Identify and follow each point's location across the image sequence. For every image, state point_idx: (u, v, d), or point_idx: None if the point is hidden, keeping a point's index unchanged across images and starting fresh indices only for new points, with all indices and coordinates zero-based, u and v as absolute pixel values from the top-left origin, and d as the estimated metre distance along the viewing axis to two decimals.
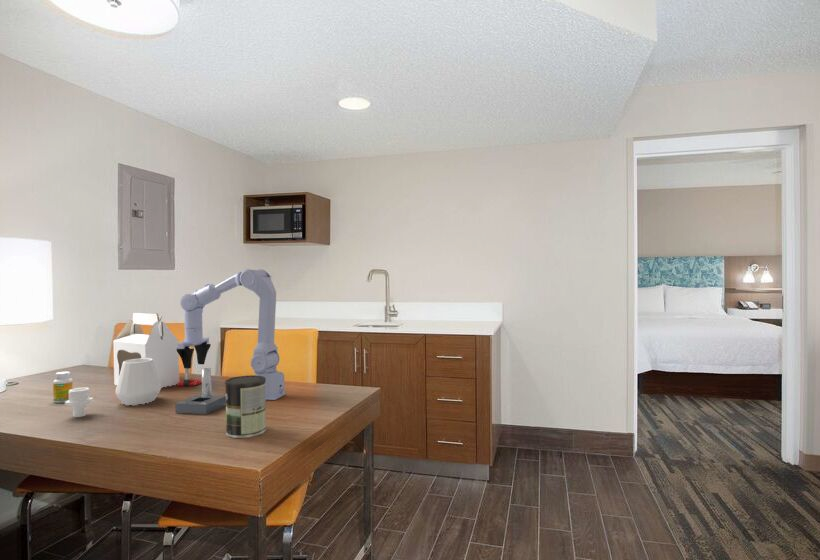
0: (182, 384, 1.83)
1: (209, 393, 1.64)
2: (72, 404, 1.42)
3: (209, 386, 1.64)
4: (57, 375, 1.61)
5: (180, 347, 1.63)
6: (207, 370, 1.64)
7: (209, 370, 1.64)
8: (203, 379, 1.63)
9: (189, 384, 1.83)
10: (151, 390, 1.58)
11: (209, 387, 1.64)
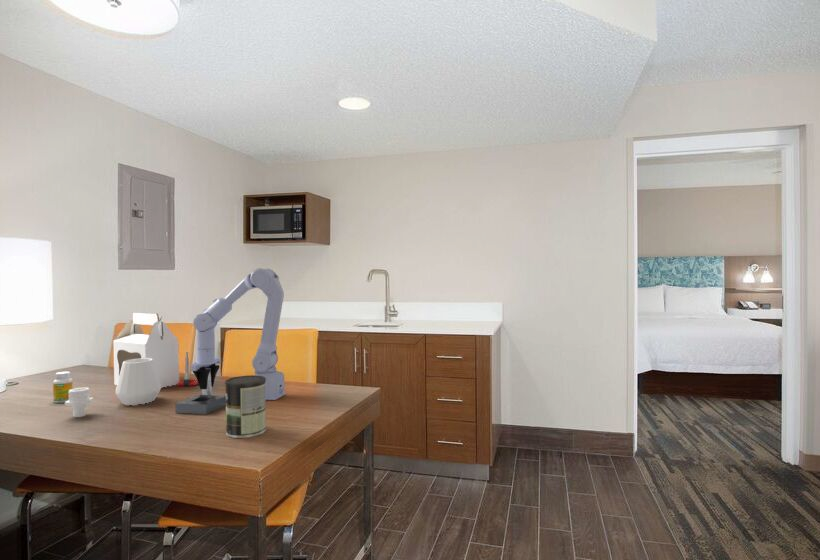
0: (182, 384, 1.83)
1: (209, 393, 1.64)
2: (72, 404, 1.42)
3: (209, 386, 1.64)
4: (57, 375, 1.61)
5: (192, 369, 1.58)
6: None
7: None
8: None
9: (189, 384, 1.83)
10: (151, 390, 1.58)
11: (209, 387, 1.64)
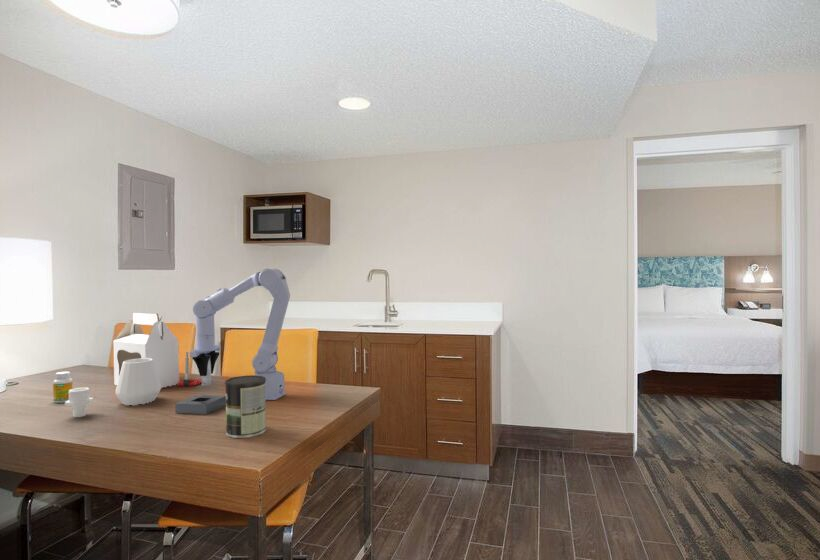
0: (182, 384, 1.83)
1: (209, 380, 1.64)
2: (72, 404, 1.42)
3: (209, 373, 1.64)
4: (57, 375, 1.61)
5: (192, 355, 1.58)
6: None
7: None
8: None
9: (189, 384, 1.83)
10: (151, 390, 1.58)
11: (209, 374, 1.64)
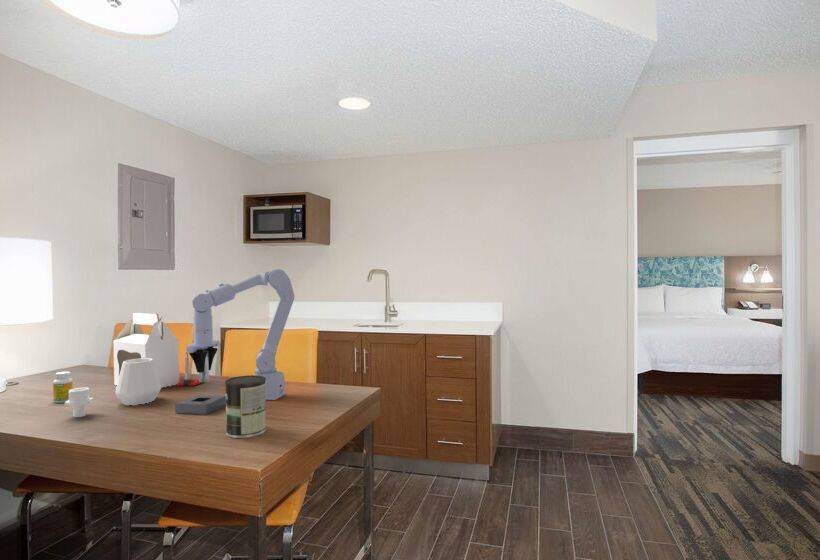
0: (182, 384, 1.83)
1: (206, 376, 1.58)
2: (72, 404, 1.42)
3: (206, 369, 1.58)
4: (57, 375, 1.61)
5: (189, 351, 1.51)
6: None
7: None
8: None
9: (189, 384, 1.83)
10: (151, 390, 1.58)
11: (206, 370, 1.58)
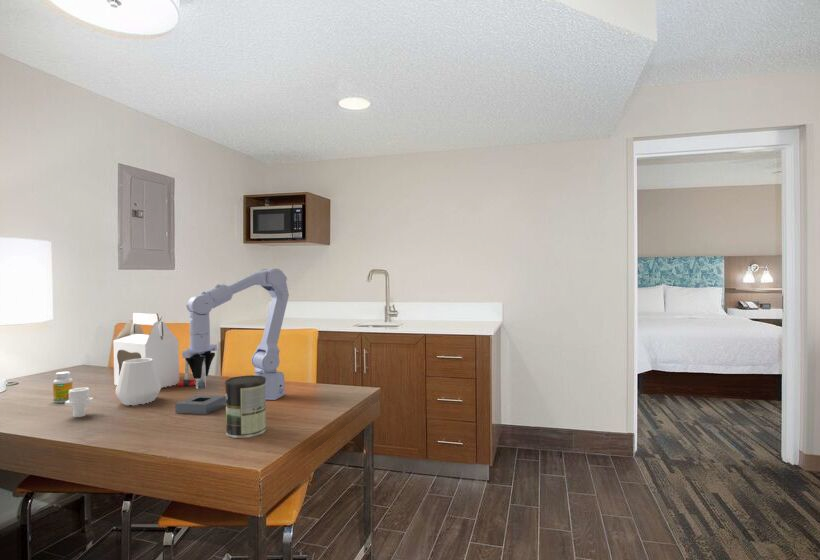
0: (182, 384, 1.83)
1: (203, 383, 1.50)
2: (72, 404, 1.42)
3: (203, 375, 1.50)
4: (57, 375, 1.61)
5: (185, 356, 1.43)
6: None
7: None
8: None
9: (189, 384, 1.83)
10: (151, 390, 1.58)
11: (203, 376, 1.50)
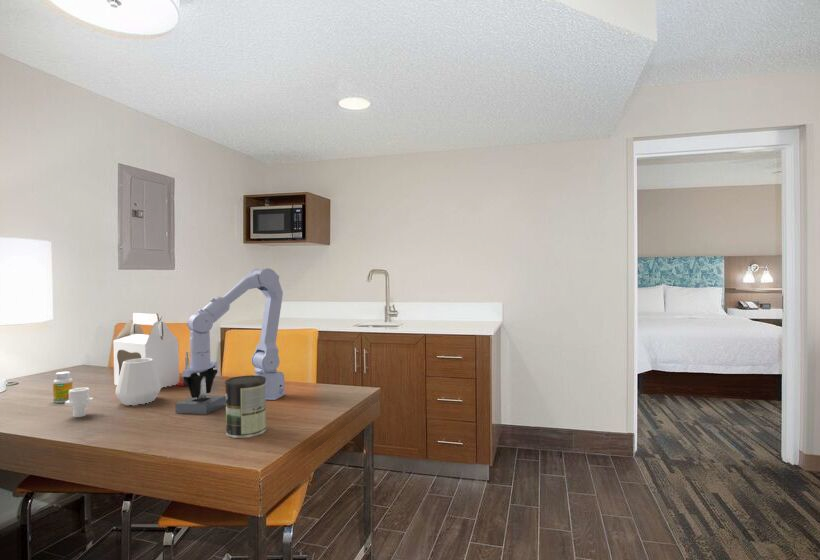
0: (182, 384, 1.83)
1: None
2: (72, 404, 1.42)
3: (204, 396, 1.50)
4: (57, 375, 1.61)
5: (185, 375, 1.44)
6: (202, 379, 1.50)
7: (204, 379, 1.50)
8: None
9: None
10: (151, 390, 1.58)
11: (204, 397, 1.50)
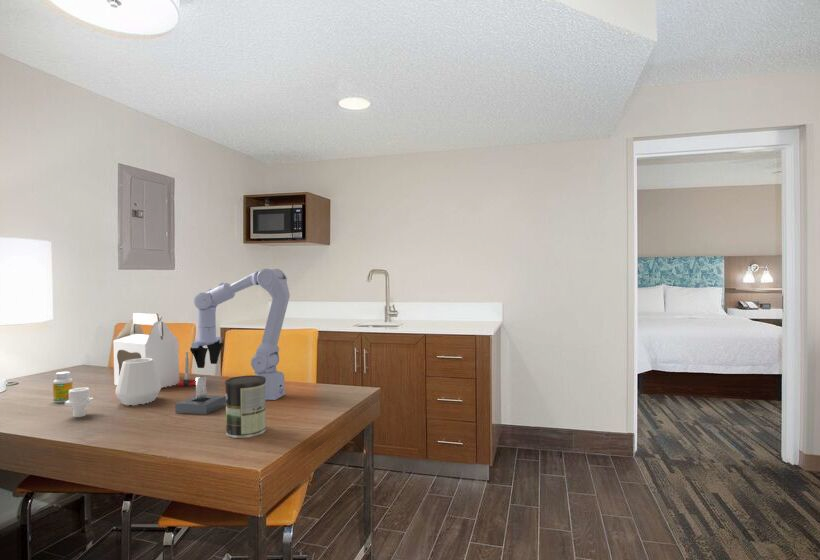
0: (182, 384, 1.83)
1: None
2: (72, 404, 1.42)
3: (204, 396, 1.50)
4: (57, 375, 1.61)
5: (194, 346, 1.61)
6: (202, 379, 1.50)
7: (204, 379, 1.50)
8: (197, 389, 1.49)
9: (189, 384, 1.83)
10: (151, 390, 1.58)
11: (204, 397, 1.50)
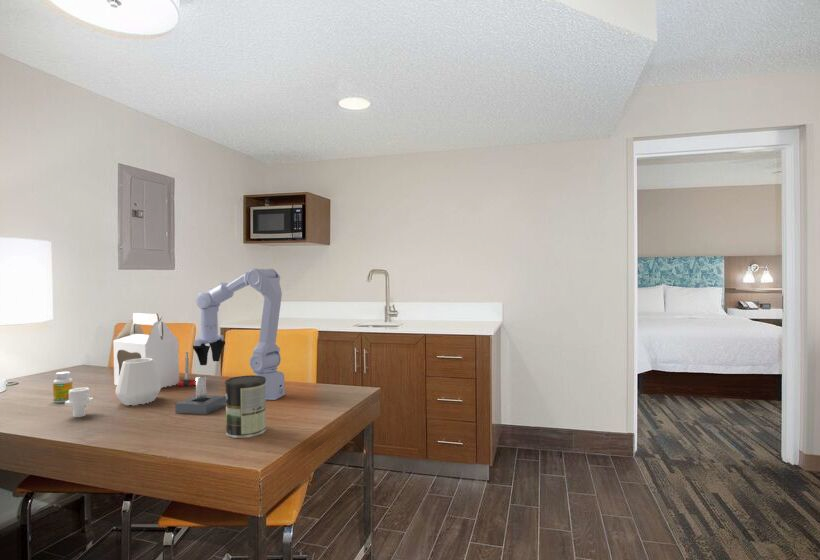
0: (182, 384, 1.83)
1: None
2: (72, 404, 1.42)
3: (204, 396, 1.50)
4: (57, 375, 1.61)
5: (197, 344, 1.66)
6: (202, 379, 1.50)
7: (204, 379, 1.50)
8: (197, 389, 1.49)
9: (189, 384, 1.83)
10: (151, 390, 1.58)
11: (204, 397, 1.50)
